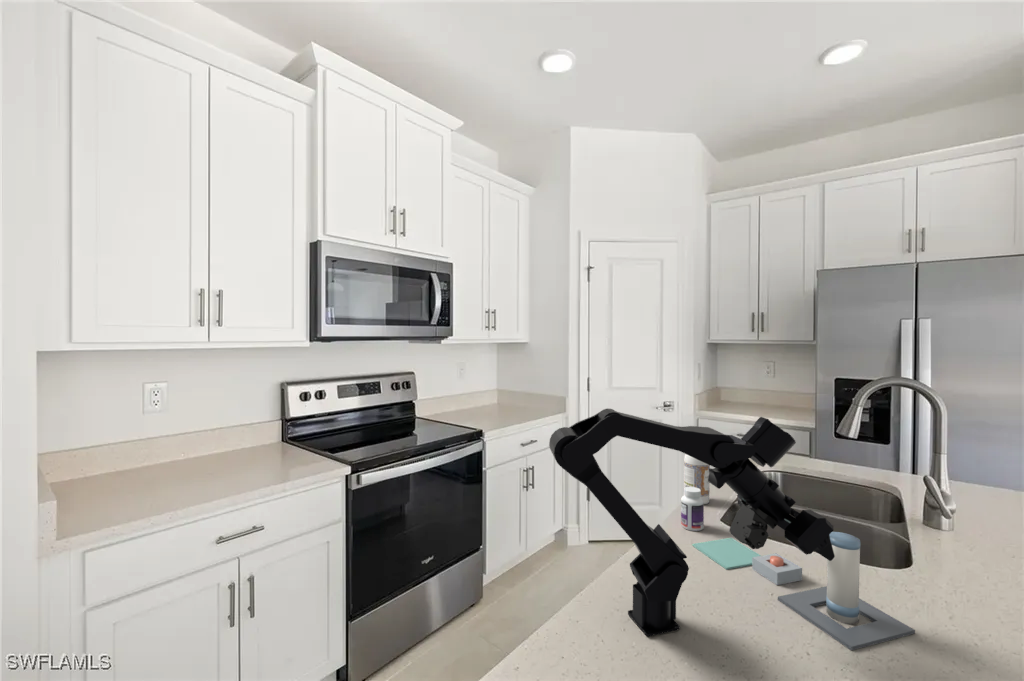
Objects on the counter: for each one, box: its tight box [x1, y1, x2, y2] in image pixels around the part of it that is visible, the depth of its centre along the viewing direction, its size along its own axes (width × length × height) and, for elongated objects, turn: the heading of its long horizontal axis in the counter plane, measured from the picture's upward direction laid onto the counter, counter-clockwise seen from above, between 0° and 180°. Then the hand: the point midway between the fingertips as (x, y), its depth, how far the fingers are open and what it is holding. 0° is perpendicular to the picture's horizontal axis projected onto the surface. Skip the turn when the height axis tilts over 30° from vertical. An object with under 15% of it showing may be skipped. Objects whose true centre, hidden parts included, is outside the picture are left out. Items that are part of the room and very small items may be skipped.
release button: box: [770, 556, 784, 567], centre depth 95 cm, size 2×2×2 cm
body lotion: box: [683, 453, 711, 505], centre depth 134 cm, size 7×7×20 cm
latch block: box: [751, 552, 803, 586], centre depth 95 cm, size 6×6×2 cm
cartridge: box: [825, 531, 861, 625], centre depth 81 cm, size 5×5×14 cm
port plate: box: [777, 585, 916, 651], centre depth 81 cm, size 14×14×1 cm
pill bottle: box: [680, 487, 705, 532], centre depth 117 cm, size 5×5×10 cm
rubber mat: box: [691, 537, 762, 571], centre depth 103 cm, size 11×11×1 cm
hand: (812, 545), depth 81 cm, fingers open, 9 cm apart
